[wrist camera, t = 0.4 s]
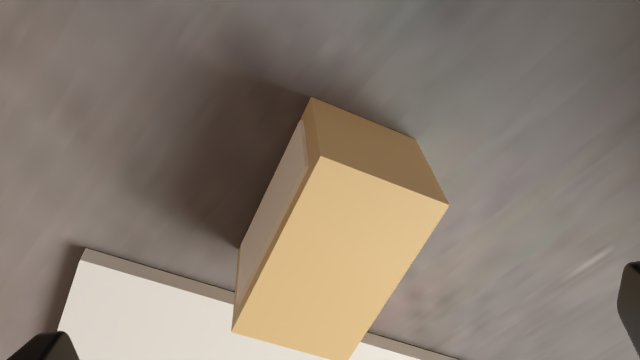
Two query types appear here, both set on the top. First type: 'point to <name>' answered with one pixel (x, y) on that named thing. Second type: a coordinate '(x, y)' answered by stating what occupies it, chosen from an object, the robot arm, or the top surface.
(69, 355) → the robot arm
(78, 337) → the shelf
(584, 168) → the top surface
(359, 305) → the tea box
